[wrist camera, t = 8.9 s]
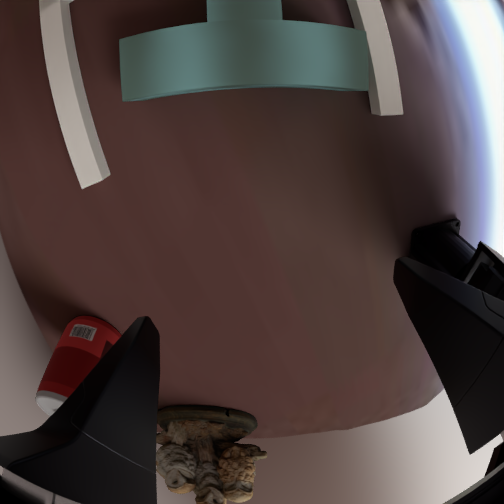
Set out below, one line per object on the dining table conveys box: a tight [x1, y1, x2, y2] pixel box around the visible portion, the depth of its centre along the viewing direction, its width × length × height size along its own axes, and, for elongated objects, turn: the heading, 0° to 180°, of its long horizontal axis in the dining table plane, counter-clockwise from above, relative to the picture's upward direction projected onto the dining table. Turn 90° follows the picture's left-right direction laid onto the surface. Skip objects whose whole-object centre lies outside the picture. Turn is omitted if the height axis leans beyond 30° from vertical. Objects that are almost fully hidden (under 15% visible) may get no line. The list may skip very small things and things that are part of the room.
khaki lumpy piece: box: [156, 405, 267, 504], centre depth 31 cm, size 18×12×17 cm, turn 84°
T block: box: [119, 0, 369, 102], centre depth 11 cm, size 14×12×4 cm
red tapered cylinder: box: [35, 316, 122, 416], centre depth 22 cm, size 8×8×11 cm
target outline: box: [39, 0, 403, 189], centre depth 12 cm, size 24×18×2 cm
